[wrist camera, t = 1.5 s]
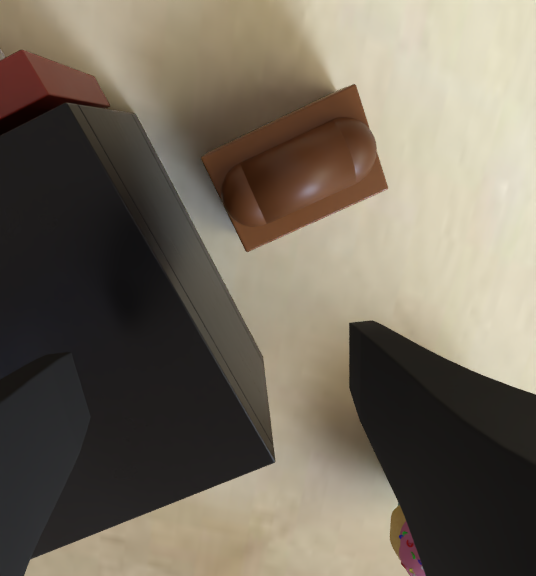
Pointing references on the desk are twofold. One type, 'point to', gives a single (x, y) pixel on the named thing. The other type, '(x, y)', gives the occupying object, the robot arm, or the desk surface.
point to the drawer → (41, 88)
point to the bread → (297, 168)
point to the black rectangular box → (124, 319)
